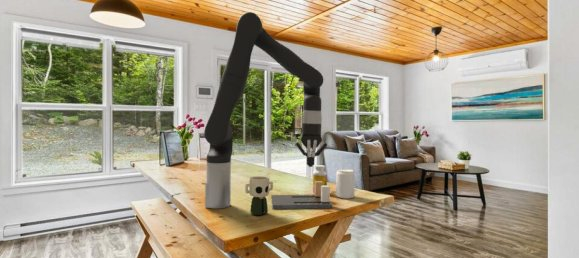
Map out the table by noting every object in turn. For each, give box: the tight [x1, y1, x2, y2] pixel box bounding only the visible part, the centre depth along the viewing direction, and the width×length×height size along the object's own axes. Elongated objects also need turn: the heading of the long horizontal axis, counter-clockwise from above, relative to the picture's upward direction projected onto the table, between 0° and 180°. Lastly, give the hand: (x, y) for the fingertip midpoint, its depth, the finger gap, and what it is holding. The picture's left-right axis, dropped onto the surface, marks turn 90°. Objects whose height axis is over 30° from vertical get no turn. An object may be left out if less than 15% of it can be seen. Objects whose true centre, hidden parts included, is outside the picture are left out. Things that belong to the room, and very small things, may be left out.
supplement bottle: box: [312, 164, 328, 194], centre depth 142 cm, size 7×7×13 cm
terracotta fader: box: [314, 181, 323, 196], centre depth 129 cm, size 3×2×6 cm
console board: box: [270, 194, 333, 210], centre depth 124 cm, size 23×16×2 cm
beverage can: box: [335, 168, 356, 200], centre depth 135 cm, size 8×8×12 cm
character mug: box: [244, 175, 274, 216], centre depth 109 cm, size 11×7×13 cm, turn 122°
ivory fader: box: [321, 185, 331, 203], centre depth 120 cm, size 3×2×6 cm
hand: (310, 166), depth 120 cm, fingers closed
